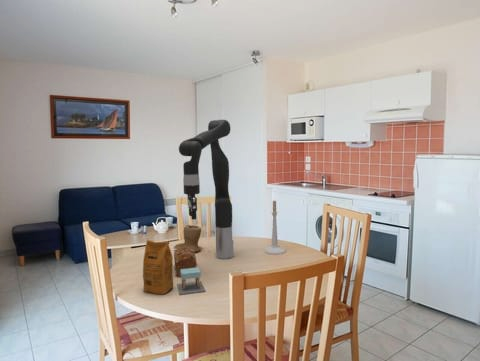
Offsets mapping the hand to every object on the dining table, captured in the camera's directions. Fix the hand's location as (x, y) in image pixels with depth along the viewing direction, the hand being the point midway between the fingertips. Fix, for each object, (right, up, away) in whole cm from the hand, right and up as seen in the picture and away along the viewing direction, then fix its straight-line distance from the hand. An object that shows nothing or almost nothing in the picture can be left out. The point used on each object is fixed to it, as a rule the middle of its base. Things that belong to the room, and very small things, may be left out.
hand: (192, 217), depth 170 cm
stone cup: (-7, -24, +42) cm, 49 cm away
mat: (+1, -30, -13) cm, 33 cm away
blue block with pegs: (+1, -29, -13) cm, 32 cm away
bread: (-5, -28, +10) cm, 30 cm away
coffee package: (-13, -30, -14) cm, 36 cm away
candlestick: (+43, -24, +37) cm, 62 cm away
